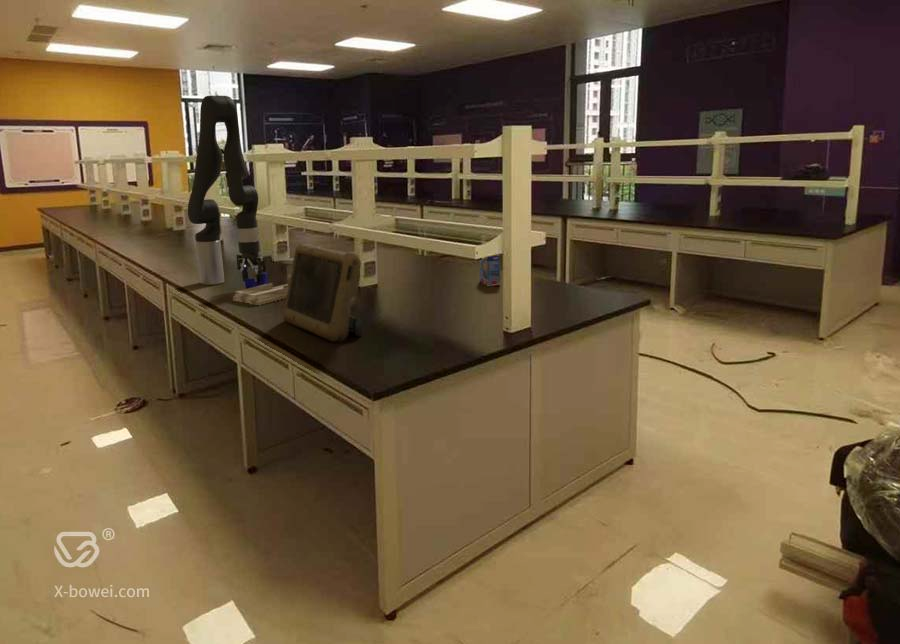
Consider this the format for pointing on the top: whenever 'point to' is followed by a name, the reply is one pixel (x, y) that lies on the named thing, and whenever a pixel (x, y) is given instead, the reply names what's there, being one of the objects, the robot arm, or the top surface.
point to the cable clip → (252, 283)
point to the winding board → (265, 290)
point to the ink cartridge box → (490, 270)
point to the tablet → (323, 292)
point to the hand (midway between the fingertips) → (252, 282)
